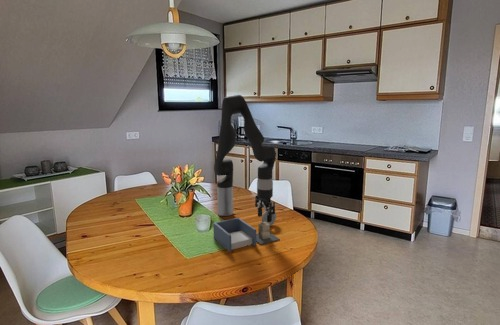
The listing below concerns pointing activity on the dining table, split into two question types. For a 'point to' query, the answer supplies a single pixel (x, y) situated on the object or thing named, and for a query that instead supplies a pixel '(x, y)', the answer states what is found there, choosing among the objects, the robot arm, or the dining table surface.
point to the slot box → (234, 233)
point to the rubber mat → (268, 240)
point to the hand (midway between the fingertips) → (264, 219)
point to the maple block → (264, 230)
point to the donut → (264, 218)
